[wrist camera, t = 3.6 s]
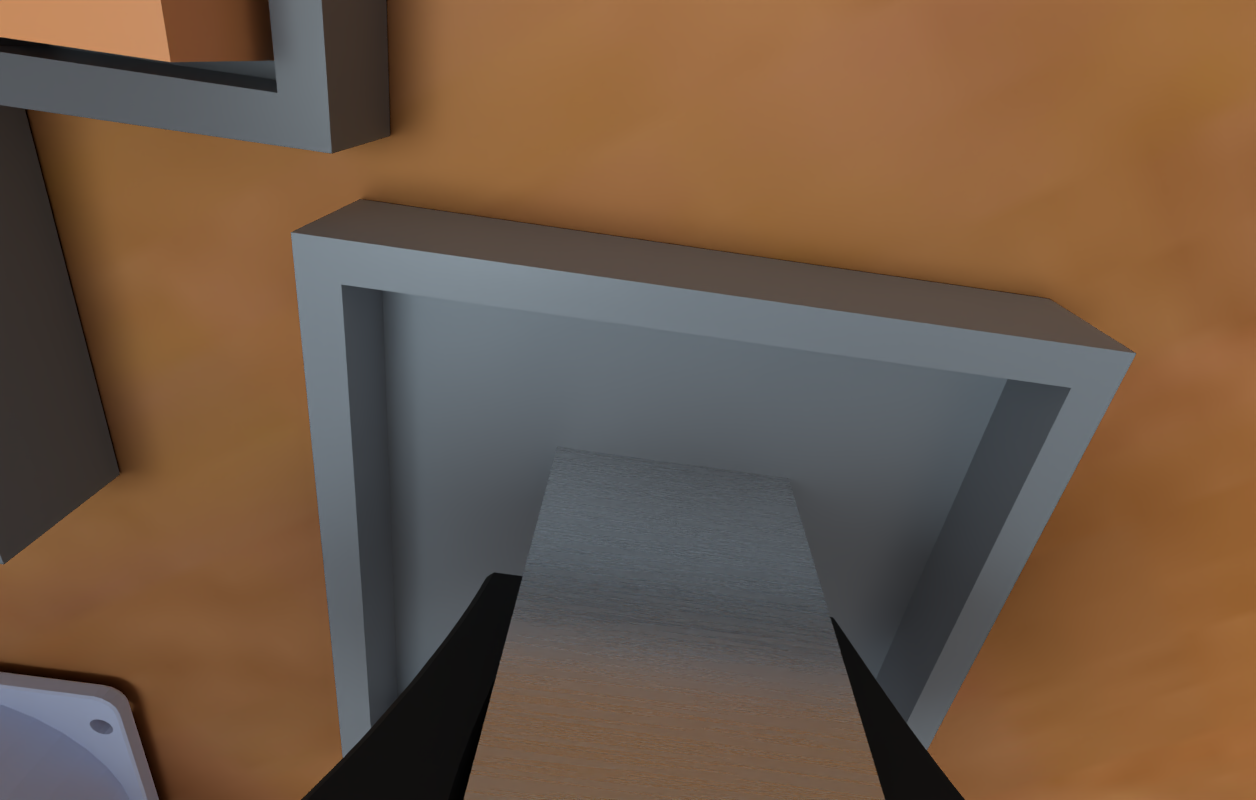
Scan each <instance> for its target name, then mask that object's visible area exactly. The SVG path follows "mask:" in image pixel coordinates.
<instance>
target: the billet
mask: <svg viewBox="0 0 1256 800" xmlns="http://www.w3.org/2000/svg"><path fill="white" fill-rule="evenodd" d="M464 800H885V798H884V795H883V791H882V788H881V785H880V781H879V778H878V775H877V771H876V768H875V765H874V761H873V758H872V755H871V751H870V748H869V745H868V741H867V738H866V735H865V731H864V728H863V725H862V721H861V718H860V715H859V711H858V708H857V705H856V701H855V698H854V695H853V691H852V688H851V685H850V681H849V678H848V675H847V671H846V668H845V665H844V661H843V658H842V655H841V651H840V648H839V645H838V641H837V638H836V635H835V631H834V628H833V625H832V622H831V618H830V615H829V612H828V608H827V605H826V602H825V598H824V595H823V592H822V588H821V585H820V582H819V578H818V575H817V572H816V568H815V565H814V562H813V558H812V555H811V552H810V548H809V545H808V542H807V538H806V535H805V532H804V528H803V525H802V522H801V518H800V515H799V512H798V508H797V505H796V502H795V498H794V495H793V492H792V488H791V485H790V482H789V478H782V477H775V476H767V475H760V474H753V473H745V472H738V471H731V470H724V469H716V468H709V467H702V466H695V465H687V464H680V463H673V462H665V461H658V460H651V459H644V458H636V457H629V456H622V455H614V454H607V453H600V452H593V451H585V450H578V449H571V448H563V447H557V449H556V453H555V457H554V460H553V464H552V468H551V472H550V476H549V479H548V483H547V487H546V491H545V494H544V498H543V502H542V506H541V509H540V513H539V517H538V521H537V525H536V528H535V532H534V536H533V540H532V543H531V547H530V551H529V555H528V558H527V562H526V566H525V570H524V574H523V577H522V581H521V585H520V589H519V592H518V596H517V600H516V604H515V607H514V611H513V615H512V619H511V623H510V626H509V630H508V634H507V638H506V641H505V645H504V649H503V653H502V656H501V660H500V664H499V668H498V672H497V675H496V679H495V683H494V687H493V690H492V694H491V698H490V702H489V706H488V709H487V713H486V717H485V721H484V724H483V728H482V732H481V736H480V739H479V743H478V747H477V751H476V755H475V758H474V762H473V766H472V770H471V773H470V777H469V781H468V785H467V788H466V792H465V796H464Z"/></svg>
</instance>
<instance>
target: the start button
mask: <svg viewBox="0 0 1256 800" xmlns="http://www.w3.org/2000/svg"><path fill="white" fill-rule="evenodd" d="M0 37H4V38H10V39H17V40H24V41H31V42H37V43H44V44H51V45H58V46H64V47H71V48H78V49H85V50H91V51H98V52H105V53H112V54H118V55H125V56H132V57H139V58H145V59H152V60H159V61H166V62H218V61H274V52H273V42H272V32H271V22H270V11H269V1H268V0H0Z"/></svg>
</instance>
